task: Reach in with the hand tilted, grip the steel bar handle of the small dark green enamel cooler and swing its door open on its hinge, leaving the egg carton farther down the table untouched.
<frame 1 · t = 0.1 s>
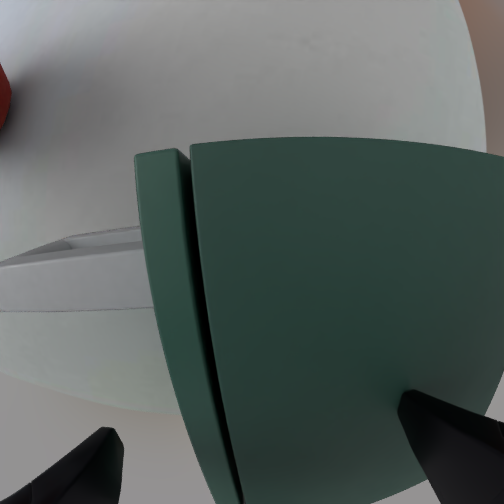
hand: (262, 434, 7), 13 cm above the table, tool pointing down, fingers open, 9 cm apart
cooler door: (140, 347, 13), point 6 cm above the table, hinge at 0.0°
cooler: (311, 286, 20), on the table
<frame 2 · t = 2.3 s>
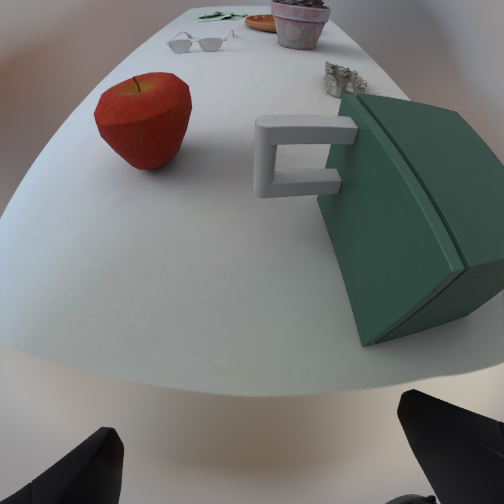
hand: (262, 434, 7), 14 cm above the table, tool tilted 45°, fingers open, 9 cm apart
cooler door: (321, 223, 20), point 7 cm above the table, hinge at 0.0°
cloth: (219, 17, 88), on the table
potted plant: (293, 45, 63), on the table
egg carton: (341, 89, 47), on the table
cooler: (401, 256, 27), on the table
eyeglasses: (204, 44, 63), on the table
saucer: (278, 28, 76), on the table
apple: (156, 162, 34), on the table
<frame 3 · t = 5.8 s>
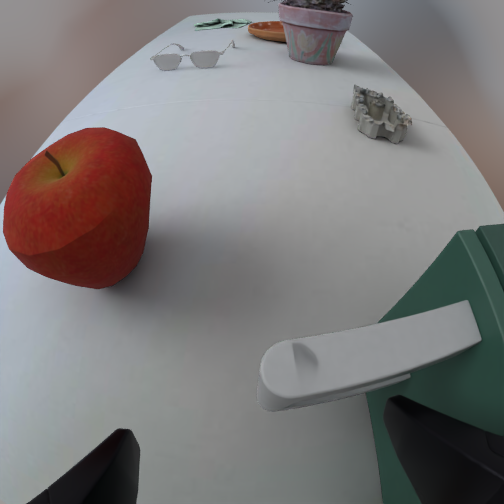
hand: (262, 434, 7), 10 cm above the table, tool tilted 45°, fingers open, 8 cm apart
cooler door: (367, 478, 9), point 6 cm above the table, hinge at 0.0°, touching gripper
cloth: (219, 25, 80), on the table
potted plant: (306, 59, 53), on the table
egg carton: (375, 123, 36), on the table
cooler: (455, 416, 15), on the table
eyeglasses: (198, 57, 53), on the table
saucer: (287, 37, 66), on the table
apple: (115, 263, 23), on the table
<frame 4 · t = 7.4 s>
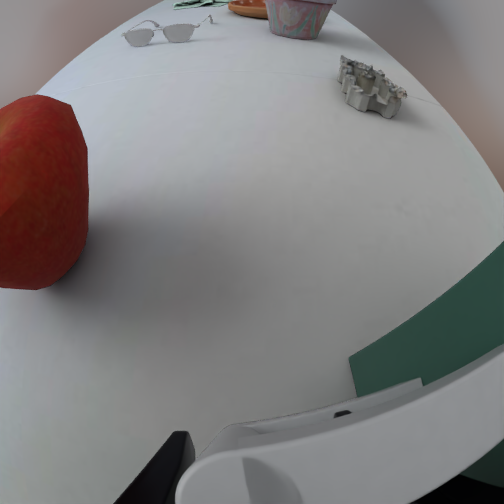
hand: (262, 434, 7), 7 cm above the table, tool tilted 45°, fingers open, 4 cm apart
cloth: (199, 4, 70), on the table
potted plant: (289, 33, 47), on the table
egg carton: (364, 97, 31), on the table
eyeglasses: (173, 33, 46), on the table
saucer: (269, 14, 59), on the table
apple: (59, 257, 17), on the table
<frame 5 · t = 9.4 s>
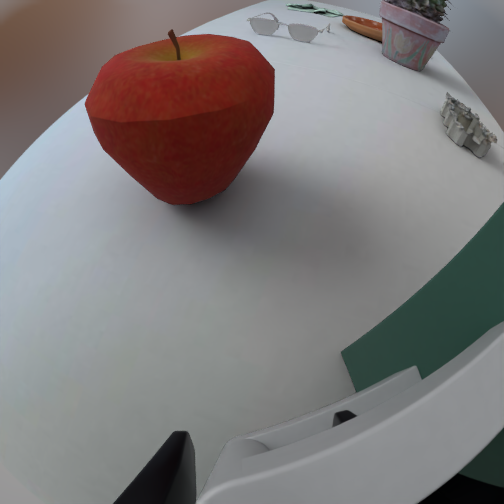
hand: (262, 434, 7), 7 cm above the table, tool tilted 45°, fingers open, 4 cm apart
cloth: (312, 10, 74), on the table
potted plant: (398, 60, 47), on the table
egg carton: (460, 133, 31), on the table
eyeglasses: (293, 31, 50), on the table
saucer: (378, 37, 59), on the table
apple: (193, 187, 21), on the table
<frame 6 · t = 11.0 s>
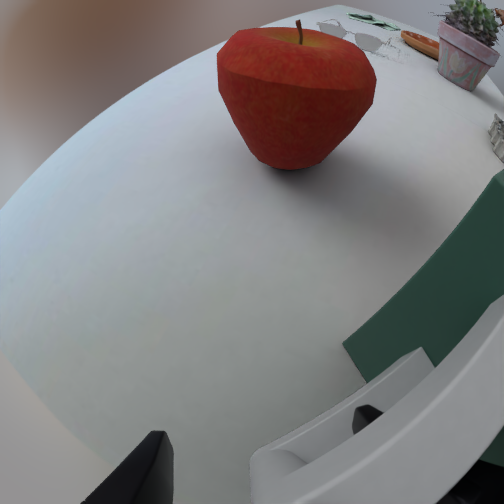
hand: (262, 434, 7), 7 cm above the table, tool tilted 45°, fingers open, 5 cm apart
cloth: (371, 22, 73), on the table
potted plant: (451, 79, 45), on the table
eyeglasses: (357, 40, 50), on the table
saucer: (433, 54, 57), on the table
apple: (286, 159, 23), on the table
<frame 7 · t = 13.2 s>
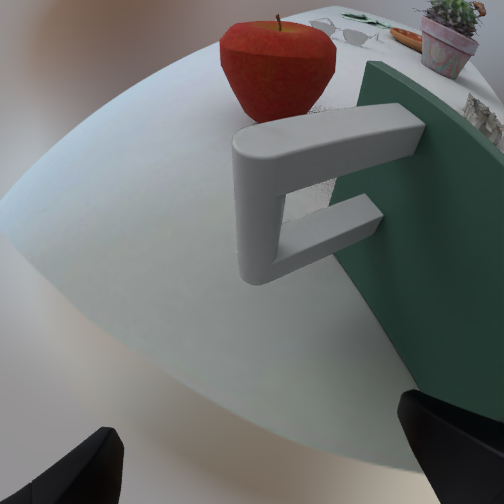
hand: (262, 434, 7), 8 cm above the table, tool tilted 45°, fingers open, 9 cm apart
cooler door: (391, 317, 10), point 7 cm above the table, hinge at 43.6°
cloth: (364, 21, 78), on the table
potted plant: (435, 68, 50), on the table
egg carton: (478, 126, 34), on the table
eyeglasses: (346, 36, 55), on the table
saucer: (421, 49, 62), on the table
apple: (274, 121, 29), on the table
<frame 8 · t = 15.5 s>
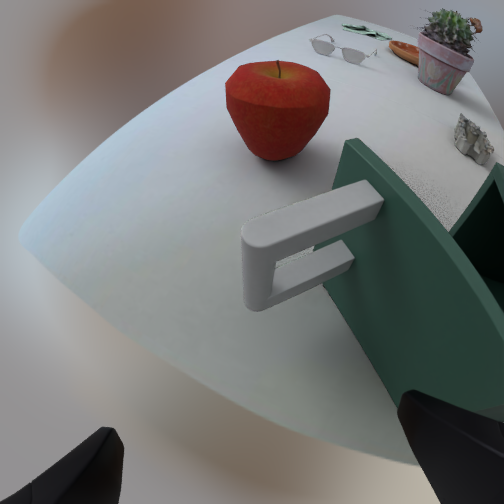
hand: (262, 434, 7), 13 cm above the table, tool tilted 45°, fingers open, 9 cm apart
cooler door: (352, 337, 15), point 6 cm above the table, hinge at 43.6°
cloth: (364, 32, 83), on the table
potted plant: (431, 84, 54), on the table
egg carton: (468, 146, 38), on the table
cooler: (474, 340, 20), on the table
eyeglasses: (346, 53, 60), on the table
saucer: (419, 62, 66), on the table
apple: (274, 154, 33), on the table
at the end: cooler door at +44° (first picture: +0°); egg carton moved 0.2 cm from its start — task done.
